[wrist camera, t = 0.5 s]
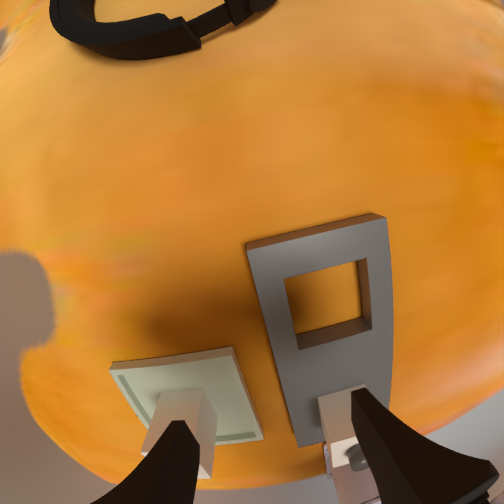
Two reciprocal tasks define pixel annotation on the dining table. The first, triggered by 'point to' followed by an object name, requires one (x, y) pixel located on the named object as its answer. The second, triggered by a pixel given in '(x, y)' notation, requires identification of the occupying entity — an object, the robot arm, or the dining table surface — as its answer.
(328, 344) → the power strip
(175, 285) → the dining table surface
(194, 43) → the headphones
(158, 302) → the dining table surface
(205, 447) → the plug
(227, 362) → the tray
